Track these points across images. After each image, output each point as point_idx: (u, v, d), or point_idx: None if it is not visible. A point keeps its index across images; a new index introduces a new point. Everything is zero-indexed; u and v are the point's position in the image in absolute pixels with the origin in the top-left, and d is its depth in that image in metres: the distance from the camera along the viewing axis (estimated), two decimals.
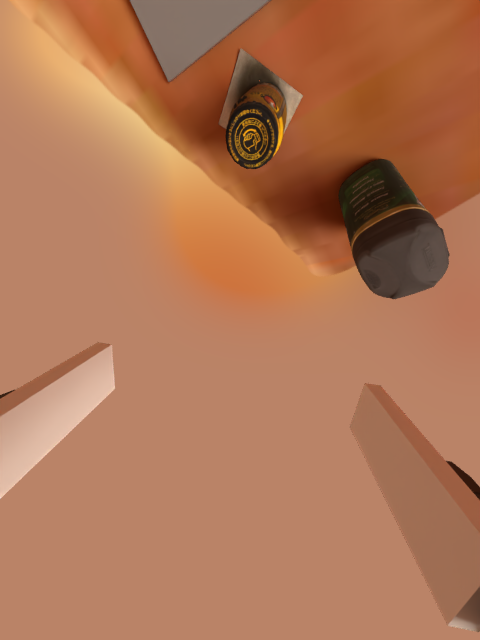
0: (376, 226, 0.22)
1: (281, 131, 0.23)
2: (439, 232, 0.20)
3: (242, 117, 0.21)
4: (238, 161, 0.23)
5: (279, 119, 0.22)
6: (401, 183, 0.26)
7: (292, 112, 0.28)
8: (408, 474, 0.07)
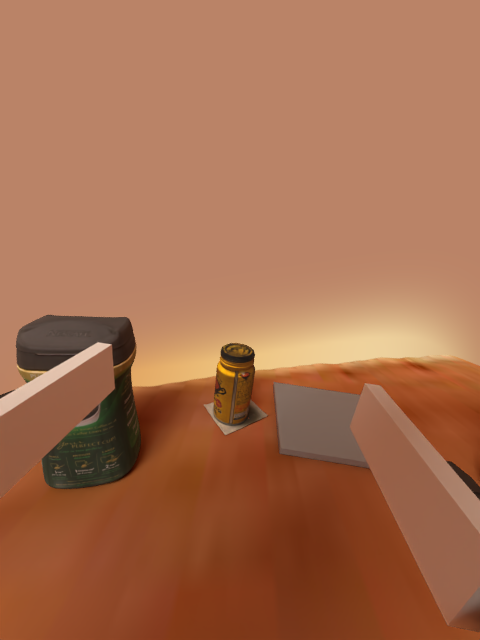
0: (133, 343, 0.24)
1: (227, 373, 0.33)
2: (89, 346, 0.19)
3: (249, 351, 0.34)
4: (232, 343, 0.36)
5: (234, 373, 0.32)
6: (113, 427, 0.23)
7: (220, 426, 0.35)
8: (408, 474, 0.07)
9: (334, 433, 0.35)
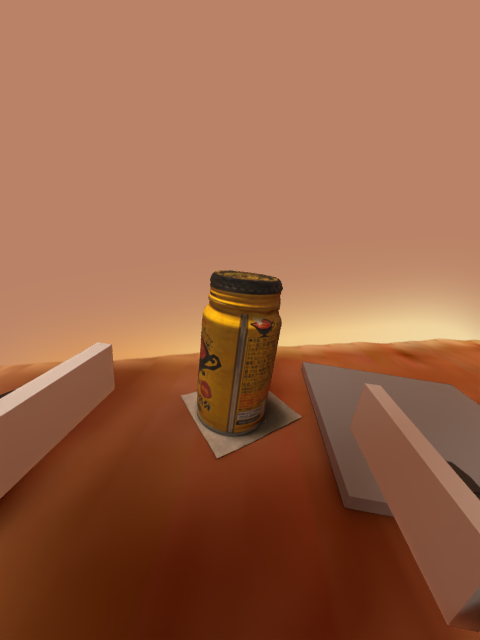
0: None
1: (224, 319, 0.15)
2: None
3: (272, 279, 0.16)
4: (235, 271, 0.18)
5: (239, 320, 0.14)
6: None
7: (208, 438, 0.17)
8: (408, 474, 0.07)
9: (448, 456, 0.16)
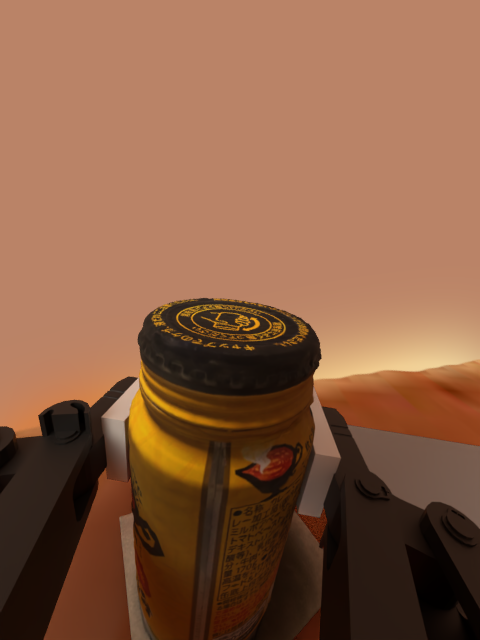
0: None
1: (162, 453, 0.05)
2: None
3: (293, 326, 0.07)
4: (212, 298, 0.09)
5: (202, 462, 0.05)
6: None
7: None
8: None
9: None
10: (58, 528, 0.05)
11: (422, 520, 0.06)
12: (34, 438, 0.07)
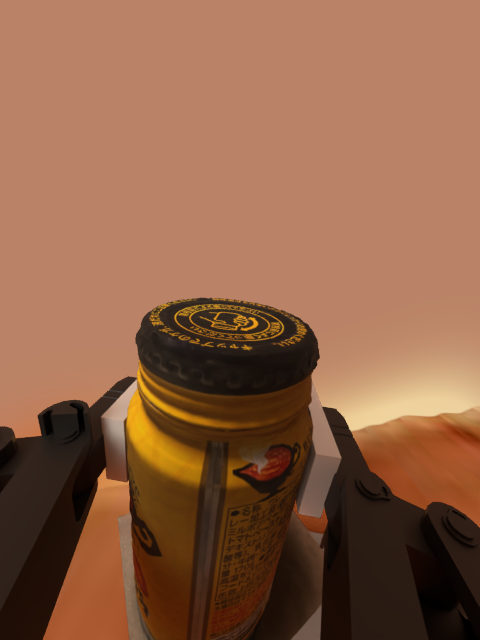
0: None
1: (160, 453, 0.05)
2: None
3: (292, 326, 0.07)
4: (211, 298, 0.09)
5: (200, 462, 0.05)
6: None
7: None
8: None
9: None
10: (57, 528, 0.05)
11: (423, 520, 0.06)
12: (33, 438, 0.07)
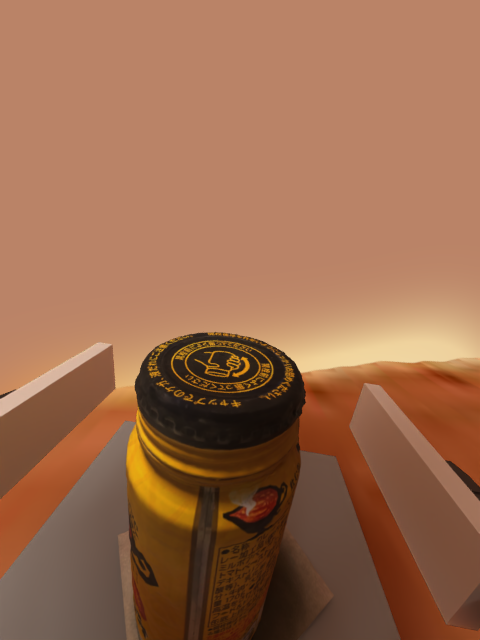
0: None
1: (156, 496, 0.06)
2: None
3: (281, 368, 0.07)
4: (206, 333, 0.09)
5: (193, 506, 0.05)
6: None
7: None
8: (407, 473, 0.07)
9: None
10: None
11: None
12: None
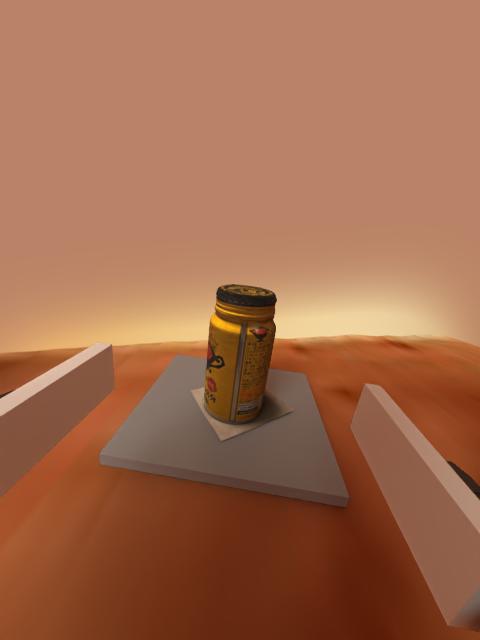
0: None
1: (227, 326, 0.18)
2: None
3: (268, 292, 0.19)
4: None
5: (239, 327, 0.18)
6: None
7: (213, 425, 0.20)
8: (408, 474, 0.07)
9: None
10: None
11: None
12: None
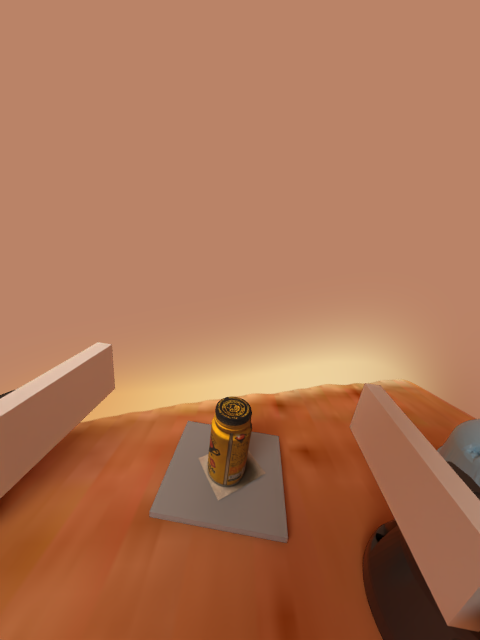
0: None
1: (221, 434, 0.30)
2: None
3: (246, 409, 0.32)
4: (228, 397, 0.34)
5: (228, 436, 0.30)
6: None
7: (213, 488, 0.32)
8: (408, 474, 0.07)
9: None
10: None
11: None
12: None
